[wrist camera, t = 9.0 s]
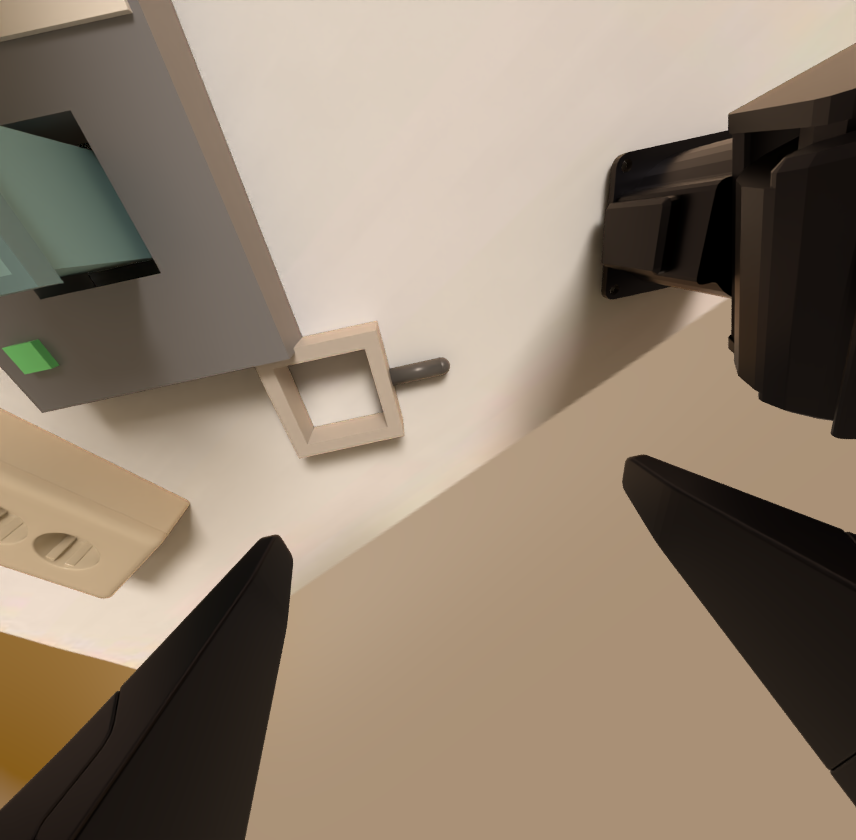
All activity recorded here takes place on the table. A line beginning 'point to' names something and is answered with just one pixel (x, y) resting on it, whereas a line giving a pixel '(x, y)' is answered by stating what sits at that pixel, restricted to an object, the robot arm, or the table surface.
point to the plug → (58, 214)
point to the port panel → (136, 210)
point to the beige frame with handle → (354, 430)
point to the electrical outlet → (75, 512)
